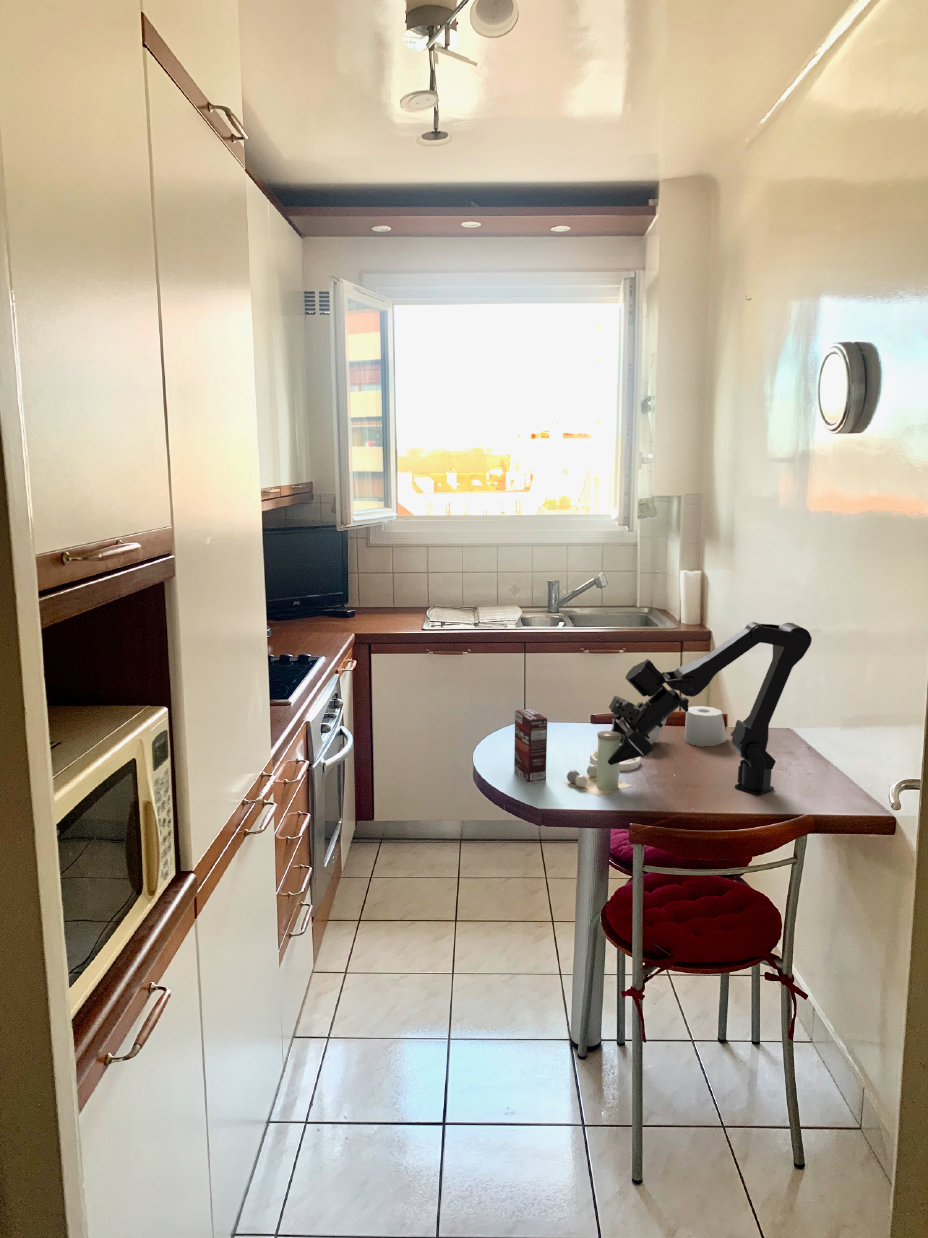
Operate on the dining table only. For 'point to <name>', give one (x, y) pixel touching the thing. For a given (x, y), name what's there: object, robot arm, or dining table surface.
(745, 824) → the dining table surface
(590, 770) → the glossy white ball
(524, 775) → the supplement box
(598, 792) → the board
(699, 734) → the toilet tissue
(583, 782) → the pebble
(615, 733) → the pale green lidded canister
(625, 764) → the round white tray
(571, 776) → the pebble
